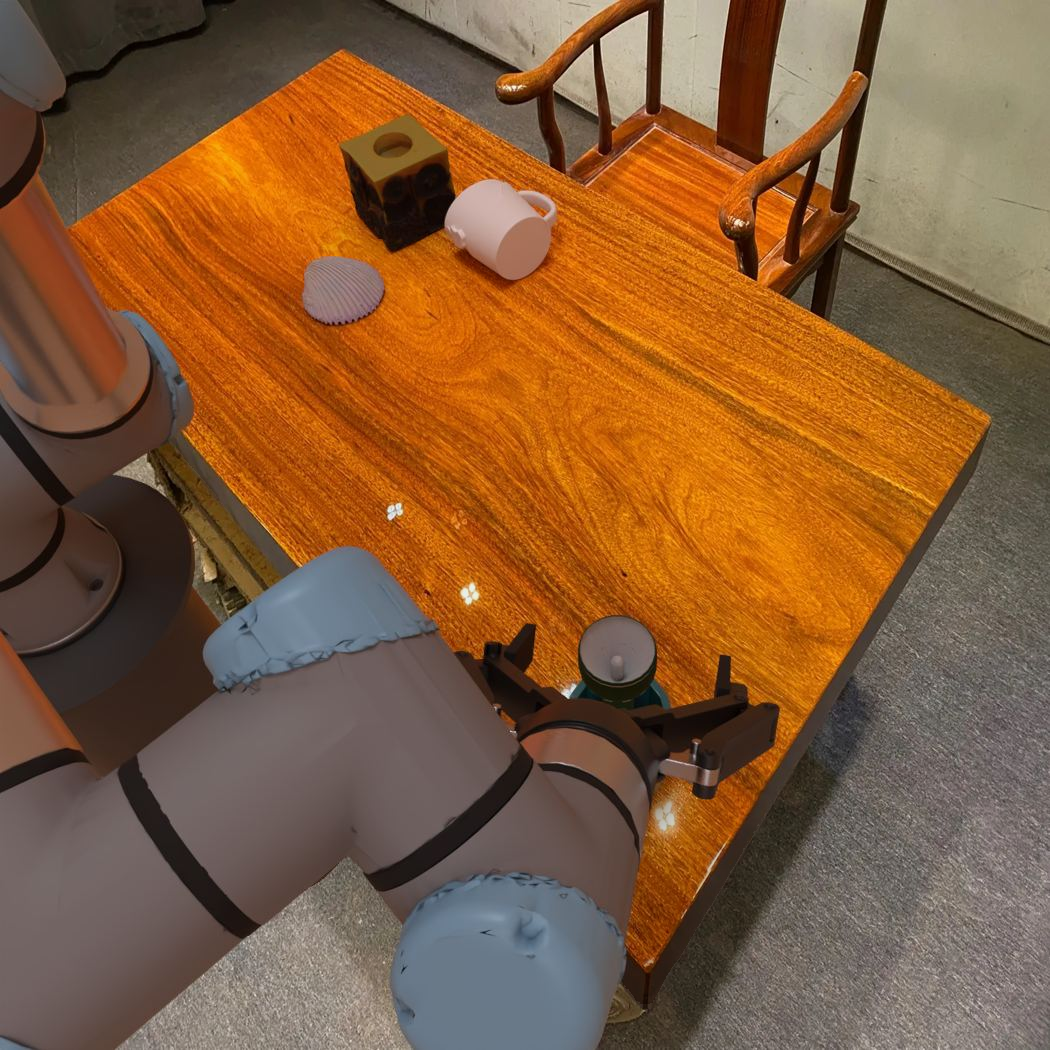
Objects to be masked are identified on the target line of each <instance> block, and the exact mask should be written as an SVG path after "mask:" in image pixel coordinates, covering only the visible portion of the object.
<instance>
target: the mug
mask: <svg viewBox="0 0 1050 1050" xmlns="http://www.w3.org/2000/svg"><path fill="white" fill-rule="evenodd" d="M455 198H456V199H455V200H454V202H453V203H452V204H451V206H450V208H449V210H448V212H447V214H446V218H445V226H444V231H445V234H446V235H447V237H448V238H449V239H450V240H451V241H452V242H453V244H454V245H455V246H456V247H457V248H459V249H465V250H467V252H468V253H469V254H470V256H472V258H474V259H475V260H477V261H478V262H480V263H481V264H483V265H484V266H486V267H487V268H489V269H490V270H492V271H493V272H495V273H496V274H498V275H499V276H500V277H502V278H504V279H506V280H509V281H516V280H520V279H523V278H525V277H527V276H529V275H530V274H532V273H533V272H534V271H535V270H537V268H538V267H539V266H540V265H541V264H542V262H543V261H544V260H545V258H546V257H547V254H548V252H549V250H550V247H551V241H552V229H551V228H553V227H554V226H555V224H556V223H557V221H558V209H557V205H556V203H555V202H554V201H553V199H551V198H550V197H548V195H545V194H543V193H541V192H538V191H535V190H529V189H527V190H525V189H524V190H519V191H517V190H516V189H515V188H514V187H513V186H512V185H511V184H510V183H509V182H508V181H502V180H499V179H495V178H489V179H483V180H479V181H477V182H475V183H473V184H471V185H469V186H468V187H466V188H465V189H464V190H463V191H461V193H459V194H458V196H456V197H455ZM533 206H534V207H538V208H540V209H542V210H543V211H546V212H547V214H545V215H544V216H542V215H540V213H538V211H537V210H535V208H533Z"/></svg>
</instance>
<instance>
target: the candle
mask: <svg viewBox="0 0 1050 1050" xmlns="http://www.w3.org/2000/svg"><path fill="white" fill-rule="evenodd" d="M338 147H339V149H340V152H341V155H342V159H343V162H344V169H345V171H346V173H347V174H346V175H347V178H348V180H349V187H350V194H351V197H352V200H353V202H354V209H355V212H356V214H357V216H358V217H359V218H360V219H361V220H362V221H363V222H364V224H365V225H366V227H368V228H369V230H371V232H372V233H373V235H375V237H377V238H381V239H382V241H383V243H384V244H385V247H386V248H387V249H388V251H390V252H395V251H397V250H399V249H402V248H404V247H406V246H408V245H410V244H411V245H412V243H414V242H416V241H418V240H420V239H423V238H424V237H426V236H427V235H431V234H432V233H434V232H436V231H438V230H439V229H441V228H443V227H445V218H446V214H447V212H448V210H449V208H450V206H451V204H452V203H453V202H454V200H455V199H456V198H457V195H456V191H455V187H454V183H453V175H452V172H451V170H450V168H451V164H450V160H449V159H450V158H449V152H448V151H449V149H448V148H447V147H446V146H445V145H444V144H443V143H442V142H441V141H440V140H438V139H437V138H436V137H435V136H433V134H431V133H430V132H429V131H428V130H426V128H425V127H423V125H422V124H421V123H420V122H419V121H417V120H416V118H414V117H413V116H412V115H411V114H408V113H406V114H403V115H401V116H399V117H396V118H394V119H393V120H391V121H389V122H386V123H384V124H382V125H378V126H377V127H375V128H372V129H371V130H368V131H366V132H364V133H362V134H360V135H357V136H355V137H353V138H350V139H348V140H345V141H343V142H339V145H338Z"/></svg>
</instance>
